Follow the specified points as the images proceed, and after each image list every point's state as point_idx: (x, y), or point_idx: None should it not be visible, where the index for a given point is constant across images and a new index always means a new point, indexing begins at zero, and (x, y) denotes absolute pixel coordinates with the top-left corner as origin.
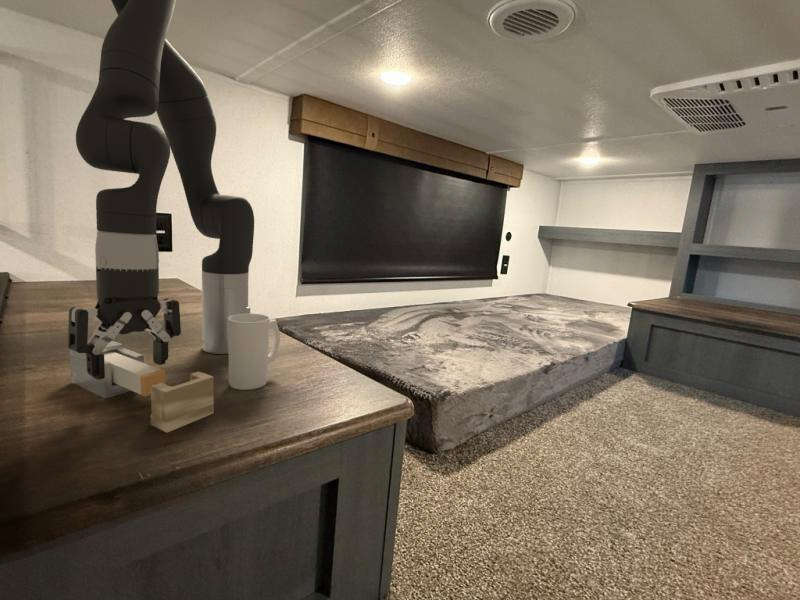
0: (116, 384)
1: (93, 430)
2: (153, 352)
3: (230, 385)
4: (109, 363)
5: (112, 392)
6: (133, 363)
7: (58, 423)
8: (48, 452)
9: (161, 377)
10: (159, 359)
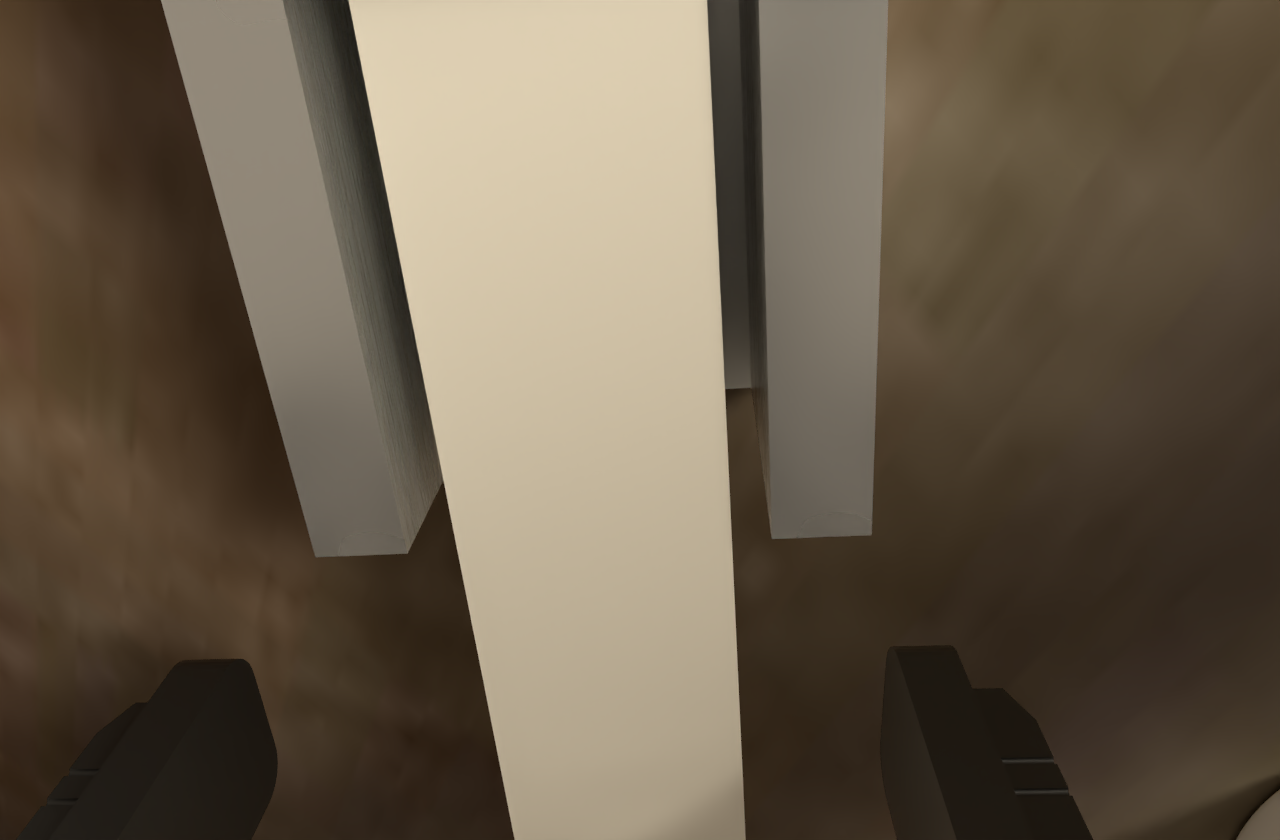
0: None
1: None
2: (923, 742)
3: (1253, 824)
4: (394, 549)
5: None
6: (648, 640)
7: (92, 547)
8: None
9: None
10: (894, 802)
